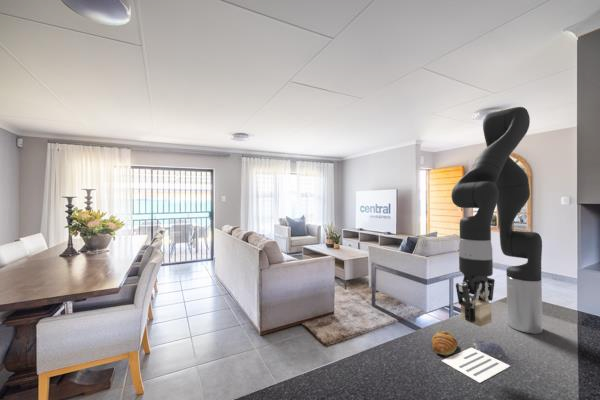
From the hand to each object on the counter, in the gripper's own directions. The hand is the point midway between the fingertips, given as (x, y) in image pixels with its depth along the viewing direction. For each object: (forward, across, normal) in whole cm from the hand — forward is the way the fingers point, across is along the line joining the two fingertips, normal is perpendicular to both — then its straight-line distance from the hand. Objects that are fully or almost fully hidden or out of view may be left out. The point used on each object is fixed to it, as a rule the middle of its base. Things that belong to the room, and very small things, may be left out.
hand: (476, 318), depth 70 cm
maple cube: (0, 0, 0) cm, 0 cm away
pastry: (+13, 0, +9) cm, 16 cm away
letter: (+12, 0, 0) cm, 12 cm away
